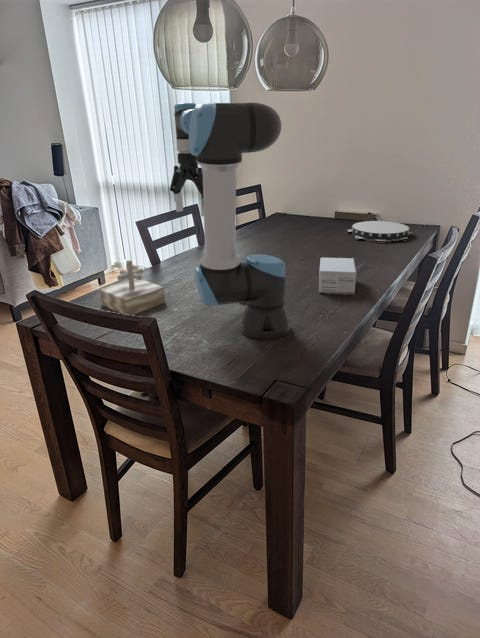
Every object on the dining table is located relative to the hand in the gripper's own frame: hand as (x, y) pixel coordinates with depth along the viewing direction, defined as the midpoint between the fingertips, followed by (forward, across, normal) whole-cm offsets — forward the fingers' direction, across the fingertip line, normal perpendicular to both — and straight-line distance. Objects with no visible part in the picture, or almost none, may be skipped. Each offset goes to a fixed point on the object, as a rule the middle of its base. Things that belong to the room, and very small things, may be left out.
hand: (191, 213), depth 171 cm
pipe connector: (+23, +5, +26) cm, 35 cm away
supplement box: (+29, -41, -35) cm, 61 cm away
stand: (+29, +5, +26) cm, 39 cm away
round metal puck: (+29, -23, -2) cm, 37 cm away
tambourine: (+29, -16, -118) cm, 123 cm away
